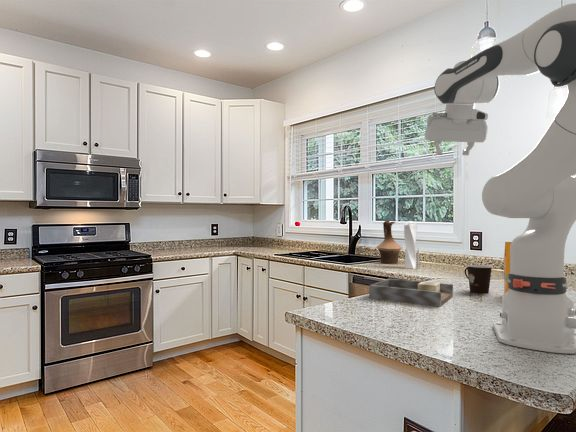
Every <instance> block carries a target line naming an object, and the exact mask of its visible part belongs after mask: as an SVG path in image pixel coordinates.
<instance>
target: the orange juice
mask: <svg viewBox="0 0 576 432" xmlns="http://www.w3.org/2000/svg"><path fill="white" fill-rule="evenodd" d="M511 242H512V241H505V243H504V254H503V269H504V270H503V279H504V280H503V282H504V283H503V285H504V286H503V287H504V288H503V291H504V293H506V292H507V291H508V290H509V288H508V274H509V273H510V245H511ZM504 293H503V294H504Z"/></svg>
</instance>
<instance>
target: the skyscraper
mask: <svg viewBox="0 0 576 432" xmlns="http://www.w3.org/2000/svg"><path fill="white" fill-rule="evenodd" d="M403 227H404V228H403V235H404V236H403V237H404V243H405V249H404V250H405V252H404V253H405V254H404V269H405V270H419V269H420V268H421V267H420V254H419V253H420V252H419V249H416V241H417V234H418V233H417V232H418V231H417V230H418V225H417V223H416V222H415V221H413V220H408V221H407V223H403ZM416 251H417V252H416Z"/></svg>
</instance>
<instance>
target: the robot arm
mask: <svg viewBox="0 0 576 432" xmlns="http://www.w3.org/2000/svg"><path fill="white" fill-rule="evenodd" d="M537 73H540V74H542V75H543V76H544V77H546V78H547V79H549V81H550V82H551V85H553V86H554V87H556V88H560V87H563V86H564V87H565V86H566V88H567V94H566V98H565V99H564V101H563V103H562V105H561V106H560V108H559V109H558V111H557V112H556V114H555V116H554V117H553V119H552V121H551V122H550V124H549V126H548V127H547V129H546V130H545V132H544V133H543V135H542V136H541V138H540V139H539V141H538V142H537V144H536V145H535V146H534V147H533V149H531V151H530V152H528V153H527V155H525V156H524V157H523V158H522V159H521V160H519V161H518V162H517V163H515V164H514V165H513V166H512V167H510V168H508V169H507V170H505V171H504V172H502V173H499V174H497V175H495V176H491V178H489V179H488V180H487V181H486V182H485V184H484V186H483V187H482V192H481V200H482V205H483V207H484V208H485V210H486V211H487V212H488V213H490V214H491V215H493V216H499V217H503V218H507V219H529V221H528V224H527V226H526V228H525V230H524V231H523V233H521V234H520V235H518V236H516V237H514V238H513V240H511V241H510V242H511V245H510V273H509V274H508V288H509V290H508V291H507V292H506V293H503V294H502V296H501V312H500V313H499V317H500V318H501V321H494V322H492V329H493V332H494V333H495V337H496V338H497V340H498V342H500V343H502V344H505V345H508V346H514V347H518V348H523V349H527V350H535V351H542V352H546V353H547V352H548V353H554V354H555V353H556V354H572V355H573V354H576V331H575V330H576V317H575V316H576V309H575V302H574V301H573V300H572V299H570V297H568V296H567V294H566V293H567V287H568V283H567V277H566V276H565V273H564V272H565V248H566V243H567V239H568V236H569V233H570V230H571V228H572V227H573V225H574V224H575V222H576V176H575V175H576V2H574V3H573V2H572V3H567V4H564V5H562V6H561V7H559V8H556V9H554V10H552V11H550V12H548V13H547V14H545V15H544V16H542V17H540V18H539V19H538V20H537V19H536V21H534V22H533V23H532V24H530V25H528V27H526V28H525V29H523V30H521V31H519V32H517V34H515V35H514V36H511V37H509V38H508V39H506V40H503V41H501V42H500V43H497V44H494V45H492V46H490V47H488V48H486V49H484V50H482V51H480V52H478V53H477V54H475V55H474V56H472V57H471V58H468V59H467V60H462V61H459V62H456V63H455V64H454V66H453V68H451V67H450V68H446V69H445V70H443V71H442V72H441V73H440V74H439V75H438V77H437V78H436V81H435V83H434V95H435V97H436V98H437V99H438V100H439V101H440V103H442V104H444V105H445V108H444V109H445V110H444V112H433V113H431V114H429V115H428V116H427V121H426V124H427V125H426V128H425V133H424V139H425V140H426V141H427V142H428V141H430V142H433V144H434V147H435V149H436V150H435V154H436V156H437V155H438V156H439V155H442V156H443V149H442V148H441V144H442V142H452V143H453V142H455V143H457V142H458V143H466V145H467V146H466V148H465V149H462V155H463V156H468V157H469V155H470V151H471V150H472V148H474V146H475V143H484V142H485V141H486V140H487V136H488V128H489V127H488V125H489V124H488V122H487V120H488V118H489V114H488V113H487V112H484V111H481V110H479V109H477V108H475V107H476V105H477V104H478V105H479V104H482V105H483V104H489V103H490V102H492V101H493V100H494V99H495V98H496V97H497V96H498V93H499V90H500V87H501V86H500V85H501V84H500V83H501V82H500V78H499V76H503V77H504V76H518V77H519V76H522V77H523V76H530V75H533V74H537Z"/></svg>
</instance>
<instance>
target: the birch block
mask: <svg viewBox="0 0 576 432" xmlns="http://www.w3.org/2000/svg"><path fill="white" fill-rule="evenodd" d="M440 283H441V282H433V283H431V281H422V282H421V283H419V284H418V290H426V291H435V292H440Z"/></svg>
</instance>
